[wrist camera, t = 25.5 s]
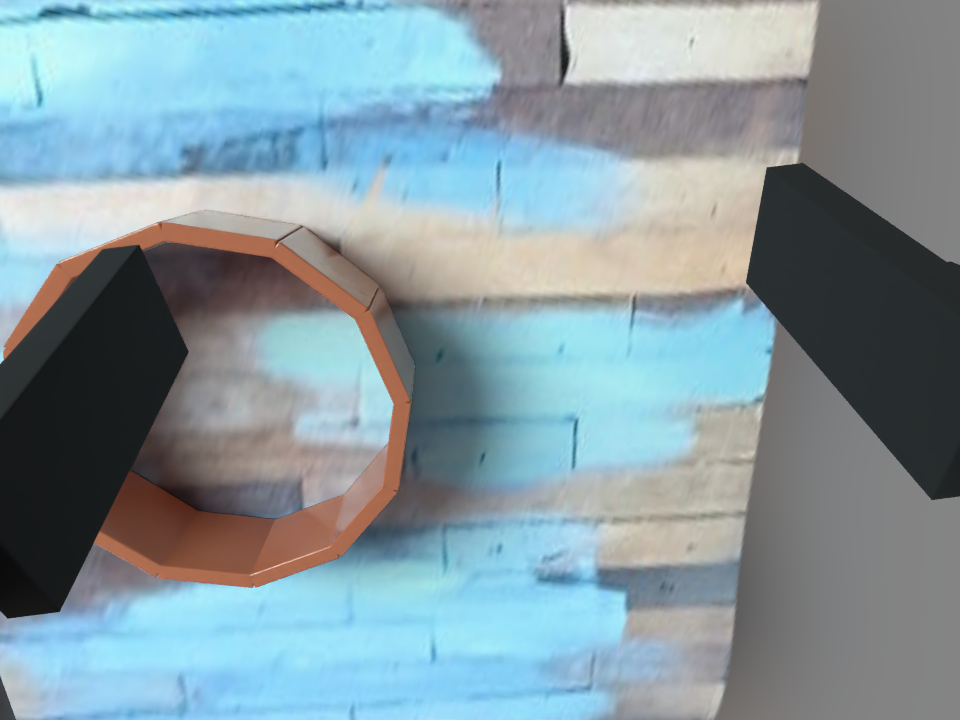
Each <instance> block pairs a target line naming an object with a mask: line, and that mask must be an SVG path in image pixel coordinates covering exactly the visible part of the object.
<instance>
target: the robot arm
mask: <svg viewBox="0 0 960 720" xmlns="http://www.w3.org/2000/svg"><path fill="white" fill-rule="evenodd" d="M746 283H747V284H748V285H749V287H750V288H751V289H752V290H753V291H754V293H755V294H756V295H757V296H758V297H759V298H760V300H761V301H762V302H763V303H764V304H765V305H766V307H767V308H768V309H769V310H770V311H771V312H772V314H773V315H774V316H775V317H776V318H777V319H778V321H779V322H780V323H781V324H782V325H783V326H784V327H785V329H786V330H787V331H788V332H789V333H790V335H791V336H792V337H793V338H794V339H795V340H796V342H797V343H798V344H799V345H800V346H801V348H802V349H803V350H804V351H805V352H806V353H807V355H808V356H809V357H810V358H811V359H812V360H813V362H814V363H815V364H816V365H817V366H818V367H819V369H820V370H821V371H822V372H823V373H824V374H825V376H826V377H827V378H828V379H829V380H830V381H831V383H832V384H833V385H834V386H835V387H836V388H837V389H838V391H839V392H840V393H841V394H842V395H843V397H844V398H845V399H846V400H847V401H848V402H849V404H850V405H851V406H852V407H853V408H854V410H855V411H856V412H857V413H858V414H859V415H860V416H861V418H862V419H863V420H864V421H865V422H866V424H867V425H868V426H869V427H870V428H871V429H872V431H873V432H874V433H875V434H876V435H877V436H878V438H879V439H880V440H881V441H882V442H883V443H884V445H885V446H886V447H887V448H888V449H889V450H890V452H891V453H892V454H893V455H894V456H895V457H896V459H897V460H898V461H899V462H900V463H901V464H902V466H903V467H904V468H905V469H906V470H907V472H908V473H909V474H910V475H911V476H912V477H913V478H914V480H915V481H916V482H917V483H918V484H919V486H920V487H921V488H922V489H923V490H924V491H925V493H926V494H927V495H928V496H929V497H930V498H931V500H935V499H943V498H951V497H958V496H960V265H958V264H955V263H953V262H946V261H944V260H943V259H941V258H940V257H938V256H937V255H936V254H934V253H933V252H931V251H929V250H928V249H927V248H925V247H924V246H922V245H921V244H920V243H918V242H916V241H915V240H914V239H912V238H911V237H909V236H908V235H907V234H905V233H904V232H902V231H901V230H899V229H898V228H896V227H895V226H894V225H892V224H890V223H889V222H888V221H886V220H885V219H883V218H882V217H880V216H879V215H878V214H876V213H874V212H873V211H872V210H870V209H869V208H867V207H866V206H865V205H863V204H862V203H860V202H859V201H857V200H856V199H854V198H853V197H851V196H850V195H849V194H847V193H846V192H844V191H843V190H841V189H840V188H838V187H837V186H835V185H834V184H833V183H831V182H830V181H828V180H827V179H825V178H824V177H822V176H821V175H820V174H818V173H817V172H815V171H814V170H812V169H811V168H809V167H808V166H806V165H805V164H803V163H800V164H792V165H784V166H775V167H767V169H766V175H765V180H764V186H763V191H762V197H761V203H760V208H759V214H758V219H757V225H756V230H755V236H754V241H753V247H752V252H751V258H750V263H749V269H748V274H747V280H746ZM188 352H189V351H188V349H187V347H186V345H185V343H184V341H183V338H182V336H181V334H180V332H179V330H178V327H177V325H176V323H175V321H174V319H173V317H172V314H171V312H170V310H169V308H168V306H167V303H166V301H165V299H164V297H163V295H162V293H161V290H160V288H159V286H158V284H157V282H156V279H155V277H154V275H153V273H152V271H151V269H150V266H149V264H148V262H147V260H146V258H145V256H144V253H143V251H142V249H141V247H140V245H131V246H123V247H115V248H107V249H102V250H101V251H100V252H99V253H98V255H97V256H96V257H95V258H94V259H93V260H92V261H91V262H90V264H89V265H88V266H87V267H86V268H85V269H84V270H83V271H82V273H81V274H80V275H79V276H78V277H77V278H76V279H75V281H74V282H73V283H72V284H71V285H70V286H69V287H68V288H67V290H66V291H65V292H64V293H63V294H62V295H61V296H60V297H59V299H58V300H57V301H56V302H55V303H54V304H53V305H52V306H51V308H50V309H49V310H48V311H47V312H46V313H45V314H44V315H43V317H42V318H41V319H40V320H39V321H38V322H37V323H36V325H35V326H34V327H33V328H32V329H31V330H30V331H29V332H28V334H27V335H26V336H25V337H24V338H23V339H22V340H21V341H20V343H19V344H18V345H17V346H16V347H15V348H14V349H13V350H12V352H11V353H10V354H9V355H8V356H7V357H6V358H5V359H4V361H3V362H2V363H1V364H0V611H1V612H2V613H3V614H4V615H5V616H6V617H7V618H16V617H23V616H31V615H39V614H47V613H55V612H60V610H61V608H62V606H63V604H64V602H65V600H66V598H67V596H68V594H69V592H70V590H71V588H72V586H73V584H74V582H75V580H76V578H77V576H78V574H79V572H80V569H81V567H82V565H83V563H84V561H85V559H86V557H87V555H88V553H89V551H90V549H91V547H92V545H93V543H94V541H95V539H96V537H97V535H98V533H99V531H100V529H101V527H102V525H103V523H104V521H105V519H106V517H107V515H108V513H109V511H110V509H111V507H112V505H113V503H114V501H115V499H116V497H117V495H118V493H119V491H120V489H121V487H122V485H123V483H124V481H125V479H126V477H127V475H128V473H129V471H130V469H131V467H132V465H133V463H134V461H135V459H136V457H137V455H138V453H139V451H140V449H141V447H142V445H143V443H144V441H145V439H146V437H147V435H148V433H149V431H150V429H151V427H152V425H153V423H154V421H155V419H156V417H157V415H158V413H159V411H160V409H161V407H162V405H163V403H164V401H165V399H166V397H167V395H168V393H169V391H170V388H171V386H172V384H173V382H174V380H175V378H176V376H177V374H178V372H179V370H180V368H181V366H182V364H183V362H184V360H185V358H186V356H187V354H188ZM0 720H16V719H15V716H14V713H13V710H12V708H11V705H10V702H9V699H8V696H7V694H6V691H5V688H4V685H3V683H2V680H1V677H0Z"/></svg>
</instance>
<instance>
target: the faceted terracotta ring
mask: <svg viewBox="0 0 960 720" xmlns="http://www.w3.org/2000/svg"><path fill="white" fill-rule="evenodd" d="M168 242H173V243H179V244H186V245H192V246H199V247H205V248H212V249H218V250H225V251H231V252H238V253H244V254H251V255H257V256H264V257H270V258H273V259H274V260H275V261H277V262H278V263H279V264H281V265H282V266H284V267H285V268H286V269H288V270H289V271H290V272H292V273H293V274H294V275H296V276H297V277H298V278H300V279H301V280H302V281H304V282H305V283H307V284H308V285H309V286H311V287H312V288H313V289H315V290H316V291H317V292H319V293H320V294H321V295H323V296H324V297H325V298H327V299H328V300H330V301H331V302H332V303H334V304H335V305H336V306H338V307H339V308H340V309H342V310H343V311H344V312H346V313H347V314H349V315H350V316H351V317H353V318H354V319H355V320H356V323H357V325H358V327H359V329H360V331H361V334H362V336H363V338H364V340H365V342H366V344H367V347H368V349H369V351H370V353H371V355H372V358H373V360H374V362H375V364H376V366H377V369H378V371H379V373H380V375H381V377H382V379H383V382H384V384H385V386H386V388H387V390H388V393H389V395H390V397H391V399H392V401H393V404H394V405H393V412H392V419H391V427H390V434H389V442H388V444H387V445H386V446H385V447H384V448H383V449H382V451H381V452H380V453H379V454H378V455H377V457H376V458H375V459H374V460H373V461H372V462H371V464H370V465H369V466H368V467H367V468H366V470H365V471H364V472H363V473H362V474H361V475H360V477H359V478H358V479H357V480H356V481H355V482H354V484H353V485H352V486H351V487H350V488H349V490H348V491H347V492H346V493H345V494H344V495H341V496H338V497H336V498H333V499H330V500H327V501H324V502H322V503H319V504H316V505H313V506H311V507H308V508H305V509H302V510H300V511H297V512H294V513H291V514H289V515H286V516H283V517H280V518H278V519H268V518H259V517H250V516H241V515H231V514H222V513H213V512H204V511H198V510H196V509H194V508H193V507H191V506H189V505H188V504H186V503H184V502H183V501H181V500H179V499H178V498H176V497H174V496H173V495H171V494H169V493H168V492H166V491H164V490H163V489H161V488H159V487H158V486H156V485H154V484H153V483H151V482H149V481H148V480H146V479H144V478H143V477H141V476H139V475H138V474H136V473H134V472H133V471H131V470H130V471H129V473H128V475H127V477H126V479H125V481H124V483H123V485H122V487H121V489H120V491H119V493H118V495H117V497H116V499H115V501H114V503H113V505H112V507H111V509H110V511H109V513H108V515H107V517H106V519H105V521H104V523H103V525H102V527H101V529H100V531H99V533H98V535H97V537H96V539H95V541H94V543H95V544H97V545H98V546H100V547H102V548H104V549H106V550H107V551H109V552H111V553H113V554H114V555H116V556H118V557H120V558H122V559H123V560H125V561H127V562H129V563H130V564H132V565H134V566H136V567H138V568H139V569H141V570H143V571H145V572H147V573H148V574H150V575H152V576H154V577H157V576H158V575H159V579H167V580H178V581H188V582H198V583H208V584H218V585H228V586H239V587H249V588H253V586H255V587H259V586H262V585H264V584H267V583H270V582H273V581H276V580H278V579H281V578H284V577H287V576H290V575H293V574H295V573H298V572H301V571H304V570H307V569H309V568H312V567H315V566H318V565H321V564H323V563H326V562H329V561H332V560H335V559H338V558H339V557H340V556H343V554H344V553H345V552H346V551H347V550H348V549H349V548H350V546H351V545H352V544H353V543H354V542H355V541H356V540H357V538H358V537H359V536H360V535H361V534H362V533H363V532H364V530H365V529H366V528H367V527H368V526H369V525H370V524H371V522H372V521H373V520H374V519H375V518H376V517H377V515H378V514H379V513H380V512H381V511H382V510H383V509H384V507H385V506H386V505H387V504H388V503H389V502H390V501H391V499H392V498H393V497H394V496H395V495H396V494H397V491H398V490H399V485H400V479H401V472H402V465H403V458H404V451H405V444H406V437H407V430H408V423H409V416H410V410H411V402H412V394H413V385H414V377H415V364H414V361H413V359H412V357H411V355H410V352H409V350H408V348H407V345H406V343H405V341H404V338H403V336H402V334H401V331H400V329H399V327H398V325H397V322H396V320H395V318H394V315H393V313H392V311H391V308H390V306H389V304H388V302H387V299H386V297H385V295H384V292H383V290H382V288H381V287H378V285H379V284H378V283H377V282H376V281H374V280H373V279H372V278H370V277H369V276H368V275H366V274H365V273H364V272H362V271H361V270H360V269H359V268H357V267H356V266H355V265H353V264H352V263H351V262H349V261H348V260H347V259H345V258H344V257H343V256H342V255H340V254H339V253H338V252H336V251H335V250H334V249H332V248H331V247H330V246H328V245H327V244H326V243H325V242H323V241H322V240H321V239H319V238H318V237H317V236H315V235H314V234H313V233H311V232H310V231H309V230H308V229H306V228H305V227H303V228H301V225H297V224H291V223H285V222H278V221H272V220H266V219H259V218H253V217H247V216H241V215H234V214H228V213H222V212H216V211H209V210H203V211H197V212H193V213H190V214H186V215H182V216H179V217H175V218H172V219H168V220H164V221H161V222H157V223H155V224H152V225H150V226H147V227H145V228H142V229H140V230H137V231H135V232H132V233H130V234H127V235H125V236H122V237H120V238H117V239H115V240H112V241H110V242H107V243H105V244H102V245H100V246H97V247H95V248H92V249H90V250H87V251H85V252H82V253H80V254H77V255H75V256H72V257H69V258H67V259H64V260H62V261H60V262H59V263H58V264H56V265H55V266H54V268H53V270H52V271H51V273H50V274H49V276H48V277H47V279H46V281H45V282H44V284H43V285H42V287H41V288H40V290H39V292H38V293H37V295H36V296H35V298H34V299H33V301H32V303H31V304H30V306H29V307H28V309H27V310H26V312H25V314H24V315H23V317H22V318H21V320H20V321H19V323H18V325H17V326H16V328H15V329H14V331H13V332H12V334H11V336H10V337H9V339H8V340H7V342H6V344H5V345H4V347H5V348H6V349H4V350H3V356H4V359H5V358H6V357H7V356H8V355H9V354H10V353H11V352H12V350H13V349H14V348H15V347H16V346H17V345H18V344H19V343H20V341H21V340H22V339H23V338H24V337H25V336H26V335H27V334H28V332H29V331H30V330H31V329H32V328H33V327H34V326H35V325H36V323H37V322H38V321H39V320H40V319H41V318H42V317H43V315H44V314H45V313H46V312H47V311H48V310H49V309H50V308H51V306H52V305H53V304H54V303H55V302H56V301H57V300H58V299H59V297H60V296H61V295H62V294H63V293H64V292H65V291H66V290H67V288H68V287H69V286H70V285H71V284H72V283H73V282H74V281H75V279H76V278H77V277H78V276H79V275H80V274H81V273H82V271H83V270H84V269H85V268H86V267H87V266H88V265H89V264H90V262H91V261H92V260H93V259H94V258H95V257H96V256H97V255H98V253H99V252H100V251H101V250H102V249H107V248H115V247H123V246H131V245H140V247H141V249H142V251H143V252H145V251H148V250H150V249H153V248H155V247H158V246H160V245H163V244H165V243H168Z"/></svg>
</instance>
